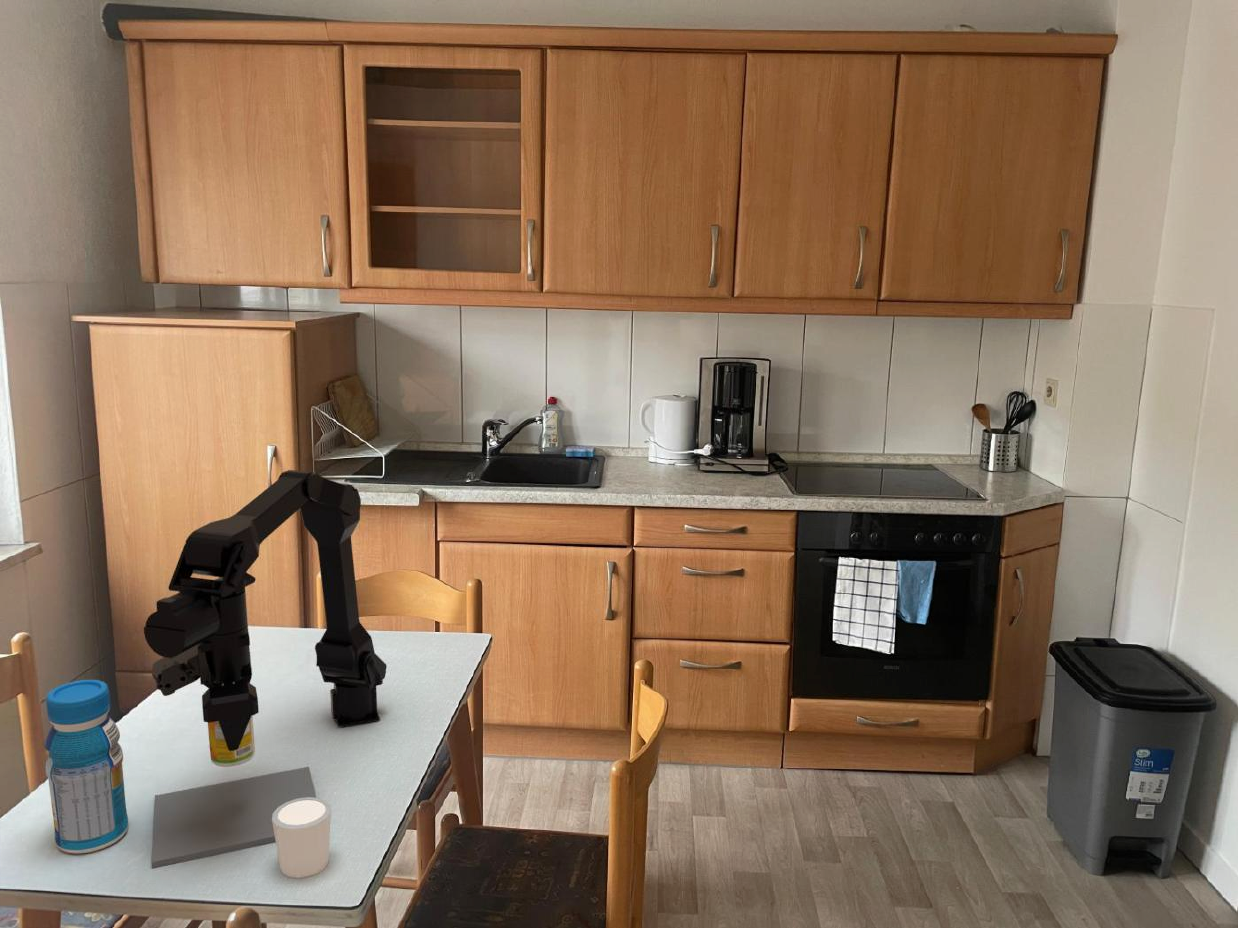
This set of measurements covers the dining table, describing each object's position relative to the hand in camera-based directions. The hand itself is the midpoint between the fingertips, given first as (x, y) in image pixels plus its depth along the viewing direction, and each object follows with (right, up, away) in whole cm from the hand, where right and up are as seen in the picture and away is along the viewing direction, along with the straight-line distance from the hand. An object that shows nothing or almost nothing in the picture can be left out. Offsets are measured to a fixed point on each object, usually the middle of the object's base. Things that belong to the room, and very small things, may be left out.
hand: (232, 739), depth 124 cm
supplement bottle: (0, -3, +1) cm, 3 cm away
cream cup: (+12, -13, -8) cm, 19 cm away
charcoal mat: (0, -11, +2) cm, 11 cm away
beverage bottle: (-17, -12, -3) cm, 20 cm away
